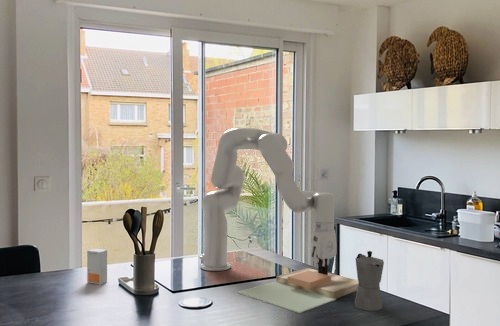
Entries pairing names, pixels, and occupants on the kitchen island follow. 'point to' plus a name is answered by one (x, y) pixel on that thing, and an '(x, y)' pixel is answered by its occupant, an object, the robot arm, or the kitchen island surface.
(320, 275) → the terracotta tile
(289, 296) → the sage mat
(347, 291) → the board
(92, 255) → the skincare box
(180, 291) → the kitchen island surface
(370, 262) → the coffeepot
